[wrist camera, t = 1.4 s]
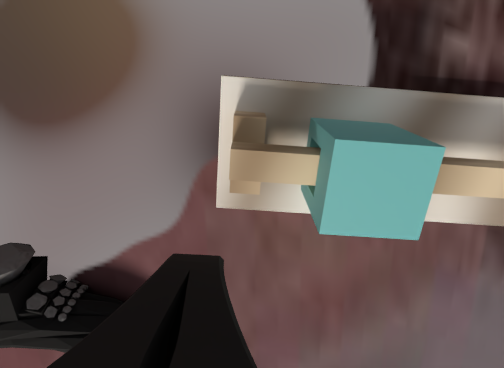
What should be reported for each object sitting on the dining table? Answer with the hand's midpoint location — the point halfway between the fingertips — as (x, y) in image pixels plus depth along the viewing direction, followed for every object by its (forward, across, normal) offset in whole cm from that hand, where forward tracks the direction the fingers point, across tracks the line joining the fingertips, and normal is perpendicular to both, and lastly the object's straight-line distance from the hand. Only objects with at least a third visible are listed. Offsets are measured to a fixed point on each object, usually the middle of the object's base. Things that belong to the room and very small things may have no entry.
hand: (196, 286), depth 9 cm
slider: (+9, -6, -1) cm, 11 cm away
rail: (+10, -10, -1) cm, 14 cm away
